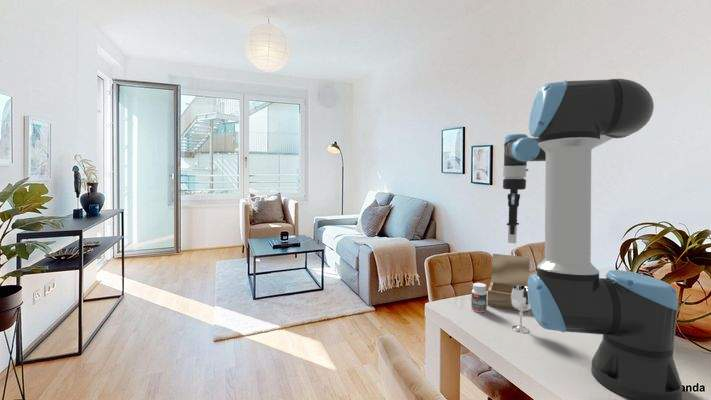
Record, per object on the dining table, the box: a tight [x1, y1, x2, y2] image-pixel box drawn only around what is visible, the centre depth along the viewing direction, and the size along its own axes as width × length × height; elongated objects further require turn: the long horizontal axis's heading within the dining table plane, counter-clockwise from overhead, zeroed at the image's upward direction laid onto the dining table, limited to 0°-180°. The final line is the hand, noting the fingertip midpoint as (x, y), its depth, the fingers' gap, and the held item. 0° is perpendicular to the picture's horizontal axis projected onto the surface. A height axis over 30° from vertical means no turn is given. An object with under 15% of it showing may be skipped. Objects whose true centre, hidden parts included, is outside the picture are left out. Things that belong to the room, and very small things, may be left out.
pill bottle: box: [470, 282, 488, 314], centre depth 113 cm, size 5×5×8 cm
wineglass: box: [511, 286, 532, 334], centre depth 99 cm, size 6×6×12 cm
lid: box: [490, 253, 531, 287], centre depth 123 cm, size 10×12×1 cm
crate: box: [487, 281, 528, 313], centre depth 118 cm, size 10×12×5 cm
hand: (512, 242), depth 128 cm, fingers closed
